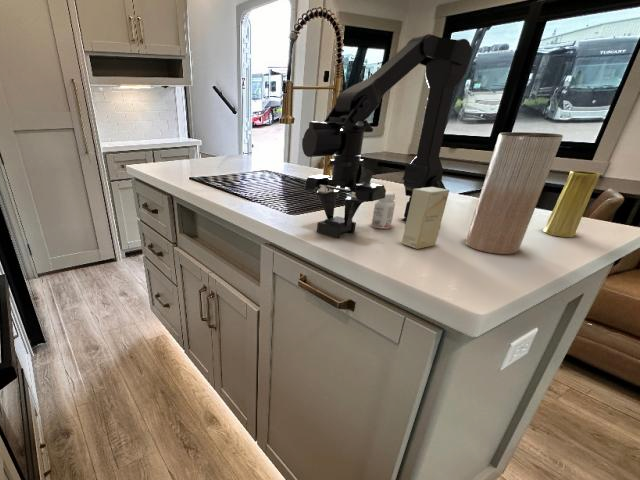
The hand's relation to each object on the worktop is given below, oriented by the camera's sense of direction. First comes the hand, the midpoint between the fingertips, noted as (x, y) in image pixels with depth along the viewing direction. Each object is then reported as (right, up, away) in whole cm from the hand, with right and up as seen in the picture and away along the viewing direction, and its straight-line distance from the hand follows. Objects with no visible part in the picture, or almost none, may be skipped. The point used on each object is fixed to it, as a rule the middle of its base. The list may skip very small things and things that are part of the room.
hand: (338, 223), depth 87 cm
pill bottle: (+12, 0, +6) cm, 14 cm away
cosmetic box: (+16, -6, -6) cm, 19 cm away
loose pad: (0, -1, +1) cm, 2 cm away
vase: (+54, -3, 0) cm, 54 cm away
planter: (+32, -7, -8) cm, 33 cm away
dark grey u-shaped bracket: (0, -2, +1) cm, 2 cm away
